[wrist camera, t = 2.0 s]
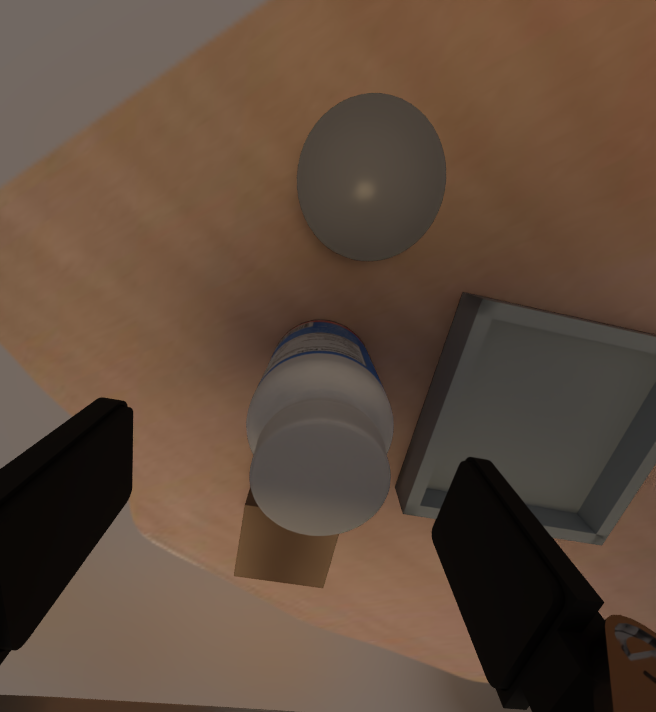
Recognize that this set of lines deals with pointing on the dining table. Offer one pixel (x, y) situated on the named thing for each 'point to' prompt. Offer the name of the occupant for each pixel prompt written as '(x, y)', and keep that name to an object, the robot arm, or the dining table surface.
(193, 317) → the dining table surface
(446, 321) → the dining table surface
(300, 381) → the pill bottle
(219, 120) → the dining table surface
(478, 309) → the slate tray
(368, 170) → the smooth grey pebble
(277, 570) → the walnut block
